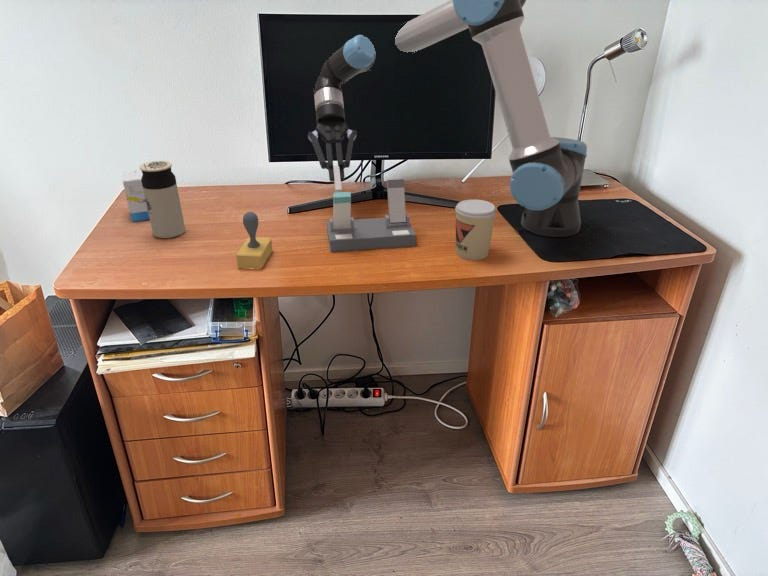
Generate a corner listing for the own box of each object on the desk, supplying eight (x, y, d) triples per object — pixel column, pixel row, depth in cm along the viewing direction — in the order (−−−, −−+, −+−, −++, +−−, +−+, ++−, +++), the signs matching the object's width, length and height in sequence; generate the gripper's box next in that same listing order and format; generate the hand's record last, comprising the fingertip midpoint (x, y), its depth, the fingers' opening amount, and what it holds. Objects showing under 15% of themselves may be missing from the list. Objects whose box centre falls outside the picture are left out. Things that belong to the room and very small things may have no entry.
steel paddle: (389, 223, 142) (386, 180, 140) (404, 222, 143) (402, 179, 141) (390, 224, 140) (387, 180, 139) (405, 222, 141) (403, 179, 139)
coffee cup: (446, 248, 138) (448, 201, 132) (479, 242, 141) (483, 196, 135) (463, 264, 130) (467, 216, 124) (499, 258, 133) (504, 210, 127)
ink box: (164, 218, 155) (156, 177, 149) (131, 222, 152) (121, 181, 146) (163, 207, 162) (155, 168, 156) (131, 211, 159) (122, 171, 153)
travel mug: (185, 225, 150) (172, 159, 142) (185, 236, 144) (172, 168, 135) (153, 228, 148) (139, 161, 139) (152, 240, 142) (137, 171, 133)
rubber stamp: (249, 250, 137) (243, 203, 131) (272, 250, 137) (267, 204, 131) (237, 269, 129) (230, 220, 123) (262, 269, 128) (256, 221, 122)
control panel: (326, 232, 146) (325, 211, 144) (406, 226, 149) (406, 206, 146) (330, 251, 136) (329, 230, 133) (415, 245, 139) (416, 224, 136)
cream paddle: (333, 224, 140) (333, 192, 132) (349, 223, 141) (350, 191, 132) (334, 228, 139) (333, 197, 131) (350, 227, 140) (351, 196, 131)
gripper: (353, 117, 153) (362, 196, 147) (305, 118, 151) (312, 199, 145) (355, 100, 146) (365, 183, 140) (304, 102, 144) (312, 186, 138)
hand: (338, 191), depth 142 cm, fingers closed
